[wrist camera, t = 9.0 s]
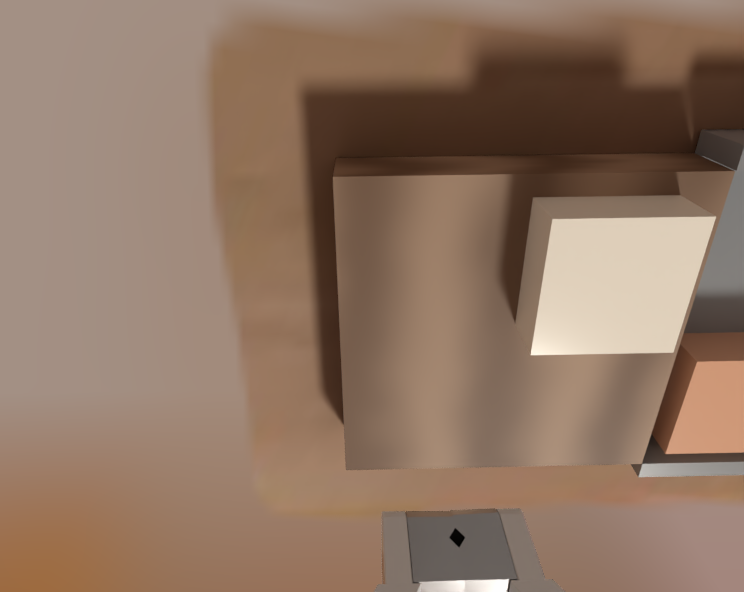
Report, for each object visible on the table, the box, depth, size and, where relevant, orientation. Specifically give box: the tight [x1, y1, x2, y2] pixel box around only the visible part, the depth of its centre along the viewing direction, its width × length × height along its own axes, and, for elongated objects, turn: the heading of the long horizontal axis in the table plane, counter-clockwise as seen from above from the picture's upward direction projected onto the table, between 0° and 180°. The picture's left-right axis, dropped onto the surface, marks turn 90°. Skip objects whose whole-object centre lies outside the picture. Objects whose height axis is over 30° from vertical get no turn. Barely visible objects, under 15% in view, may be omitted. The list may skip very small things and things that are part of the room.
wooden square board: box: [333, 153, 735, 470], centre depth 26 cm, size 16×16×3 cm
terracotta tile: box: [651, 332, 744, 454], centre depth 28 cm, size 6×6×2 cm
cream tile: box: [515, 195, 716, 355], centre depth 22 cm, size 6×6×2 cm
